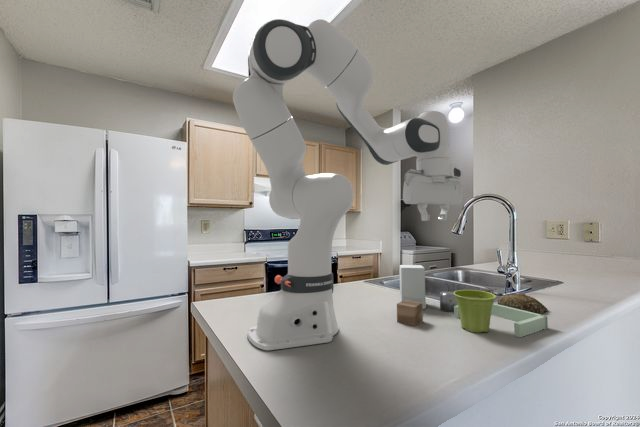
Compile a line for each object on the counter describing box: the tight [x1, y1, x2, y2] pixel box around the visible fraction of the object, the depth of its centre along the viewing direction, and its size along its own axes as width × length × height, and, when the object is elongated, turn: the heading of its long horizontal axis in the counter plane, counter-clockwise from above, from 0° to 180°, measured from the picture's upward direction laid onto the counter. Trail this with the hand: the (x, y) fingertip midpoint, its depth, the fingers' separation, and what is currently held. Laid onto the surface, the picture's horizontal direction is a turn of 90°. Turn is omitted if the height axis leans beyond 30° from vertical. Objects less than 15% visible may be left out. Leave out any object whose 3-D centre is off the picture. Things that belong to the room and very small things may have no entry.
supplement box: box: [398, 264, 427, 310], centre depth 95 cm, size 7×7×13 cm
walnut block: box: [396, 300, 424, 327], centre depth 80 cm, size 5×5×5 cm
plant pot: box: [453, 289, 497, 334], centre depth 74 cm, size 9×9×9 cm
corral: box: [453, 303, 549, 338], centre depth 78 cm, size 12×17×3 cm
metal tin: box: [439, 291, 458, 313], centre depth 90 cm, size 5×5×5 cm
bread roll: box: [496, 292, 549, 315], centre depth 91 cm, size 13×12×5 cm
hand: (434, 220), depth 83 cm, fingers open, 5 cm apart
